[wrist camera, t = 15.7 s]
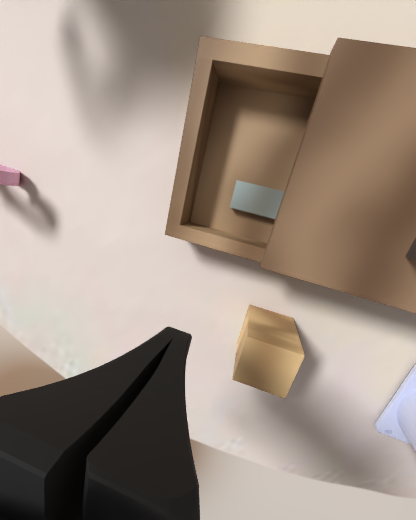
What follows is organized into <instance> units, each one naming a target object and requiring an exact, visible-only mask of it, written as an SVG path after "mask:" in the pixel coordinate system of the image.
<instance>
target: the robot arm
mask: <svg viewBox="0 0 416 520" xmlns="http://www.w3.org/2000/svg"><path fill="white" fill-rule="evenodd" d="M191 339H192V336H191V334H188V333H186V332H183V331H180V330H177V329H174V328H171V327H166V328H165V329H164V330H162V331H161V332H159V333H158V334H157V335H155V336H154V337H152V338H151V339H149V340H148V341H146V342H144V343H143V344H141V345H140V346H138V347H136V348H135V349H133V350H131V351H129V352H127V353H126V354H124V355H122V356H120V357H118V358H116V359H114V360H112V361H110V362H108V363H106V364H104V365H102V366H99V367H97V368H95V369H92V370H90V371H87V372H85V373H82V374H79V375H77V376H74V377H71V378H68V379H65V380H62V381H59V382H56V383H52V384H49V385H45V386H42V387H38V388H34V389H30V390H26V391H21V392H17V393H13V394H9V395H4V396H1V397H0V520H200V508H199V507H200V506H199V484H198V479H197V475H196V470H195V465H194V460H193V456H192V450H191V444H190V438H189V430H188V422H187V414H186V402H185V366H186V358H187V354H188V350H189V347H190V343H191ZM375 428H376V430H377V431H378V432H379V433H382V434H385V435H387V436H390V437H393V438H395V439H398V440H401V441H403V442H406V443H409V444H411V445H412V447H413V448H414V450H415V452H416V364H415V365H414V367H413V368H412V370H411V371H410V373H409V374H408V376H407V377H406V379H405V380H404V382H403V383H402V385H401V386H400V387H399V389H398V390H397V392H396V393H395V395H394V396H393V398H392V399H391V401H390V402H389V404H388V405H387V407H386V408H385V410H384V411H383V413H382V414H381V416H380V417H379V419H378V420H377V421H376V423H375Z"/></svg>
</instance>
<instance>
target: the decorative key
mask: <svg viewBox="0 0 416 520" xmlns="http://www.w3.org/2000/svg"><path fill="white" fill-rule="evenodd" d="M19 183H20V172H19V171H17V170H14V169H11V168H8V167H6V166H2V165H0V184H4V185H12V186H19Z"/></svg>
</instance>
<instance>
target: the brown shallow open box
mask: <svg viewBox="0 0 416 520" xmlns="http://www.w3.org/2000/svg"><path fill="white" fill-rule="evenodd" d="M329 57H330V55H325V54H318V53H311V52H305V51H298V50H291V49H284V48H277V47H271V46H264V45H257V44H250V43H243V42H237V41H230V40H223V39H216V38H209V37H203V36H200V40H199V46H198V51H197V57H196V63H195V68H194V74H193V80H192V85H191V91H190V96H189V102H188V108H187V113H186V119H185V124H184V130H183V136H182V141H181V147H180V152H179V158H178V164H177V169H176V175H175V180H174V186H173V192H172V197H171V203H170V209H169V214H168V220H167V225H166V231H165V235H168V236H172V237H175V238H178V239H182V240H185V241H189V242H192V243H196V244H199V245H203V246H206V247H209V248H213V249H216V250H220V251H223V252H227V253H230V254H233V255H237V256H240V257H244V258H247V259H251V260H254V261H257V262H261V260H262V257H263V254H264V251H265V248H266V245H267V242H268V239H269V236H270V233H271V230H272V227H273V224H274V221H275V218H276V215H277V212H278V209H279V206H280V203H281V200H282V197H283V194H284V191H285V188H286V185H287V182H288V179H289V176H290V173H291V170H292V167H293V164H294V161H295V158H296V155H297V152H298V149H299V146H300V144H301V141H302V138H303V135H304V132H305V129H306V126H307V123H308V120H309V117H310V114H311V111H312V108H313V105H314V102H315V99H316V96H317V93H318V90H319V87H320V84H321V81H322V78H323V75H324V72H325V69H326V66H327V63H328V60H329Z"/></svg>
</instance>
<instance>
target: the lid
mask: <svg viewBox="0 0 416 520" xmlns="http://www.w3.org/2000/svg"><path fill="white" fill-rule="evenodd" d="M260 264H261V268H263V269H267V270H270V271H274V272H277V273H280V274H284V275H287V276H291V277H294V278H297V279H301V280H304V281H307V282H311V283H314V284H318V285H321V286H324V287H328V288H331V289H335V290H338V291H341V292H345V293H348V294H352V295H355V296H358V297H362V298H365V299H369V300H372V301H375V302H379V303H382V304H386V305H389V306H392V307H396V308H399V309H403V310H406V311H409V312H413V313H416V48H411V47H404V46H396V45H389V44H382V43H374V42H367V41H359V40H352V39H345V38H338V39H337V41H336V43H335V45H334V47H333V49H332V51H331V54H330V57H329V60H328V63H327V66H326V69H325V72H324V75H323V78H322V81H321V84H320V87H319V90H318V93H317V96H316V99H315V102H314V105H313V108H312V111H311V114H310V117H309V120H308V123H307V126H306V129H305V132H304V135H303V138H302V141H301V144H300V146H299V149H298V152H297V155H296V158H295V161H294V164H293V167H292V170H291V173H290V176H289V179H288V182H287V185H286V188H285V191H284V194H283V197H282V200H281V203H280V206H279V209H278V212H277V215H276V218H275V221H274V224H273V227H272V230H271V233H270V236H269V239H268V242H267V245H266V248H265V251H264V254H263V257H262V260H261V263H260Z"/></svg>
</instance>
